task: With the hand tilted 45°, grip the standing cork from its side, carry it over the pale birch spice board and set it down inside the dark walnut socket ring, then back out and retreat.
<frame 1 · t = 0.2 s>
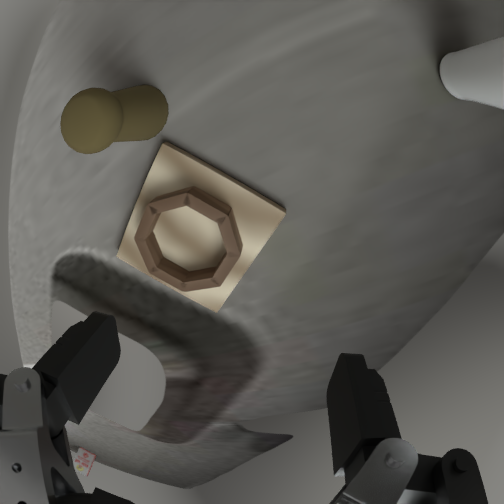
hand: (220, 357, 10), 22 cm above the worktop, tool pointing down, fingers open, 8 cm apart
tea bag: (87, 451, 78), on the worktop
spice board: (193, 232, 32), on the worktop
drinking glass: (456, 76, 21), on the worktop
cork: (142, 112, 27), on the worktop
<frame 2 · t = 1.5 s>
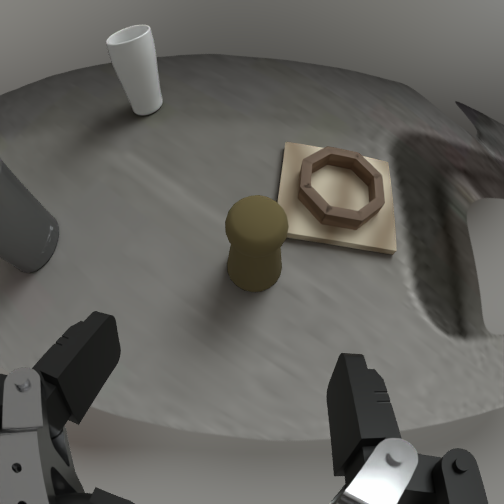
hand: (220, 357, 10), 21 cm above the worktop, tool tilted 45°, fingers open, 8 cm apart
spice board: (337, 196, 37), on the worktop
drinking glass: (148, 107, 44), on the worktop
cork: (254, 266, 33), on the worktop
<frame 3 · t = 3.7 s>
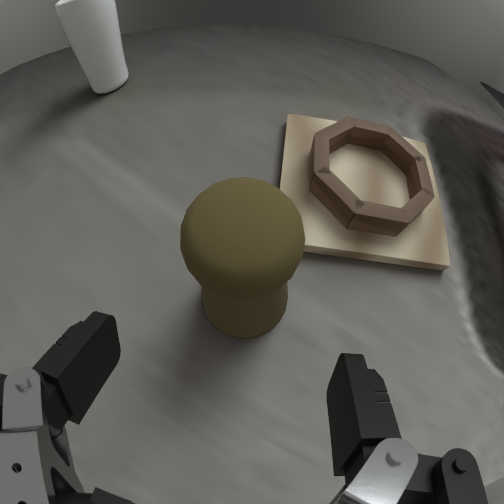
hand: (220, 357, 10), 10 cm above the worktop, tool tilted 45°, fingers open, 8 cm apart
spice board: (363, 187, 25), on the worktop
drinking glass: (111, 84, 32), on the worktop
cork: (244, 296, 21), on the worktop
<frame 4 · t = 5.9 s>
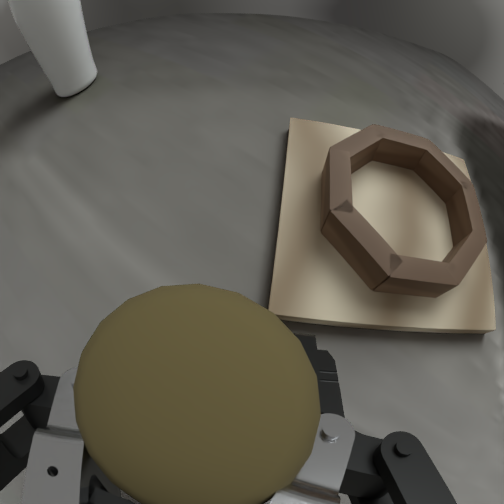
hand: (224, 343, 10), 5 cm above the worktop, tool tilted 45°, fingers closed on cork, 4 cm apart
spice board: (393, 223, 18), on the worktop
drinking glass: (78, 85, 25), on the worktop
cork: (227, 388, 14), on the worktop, touching gripper
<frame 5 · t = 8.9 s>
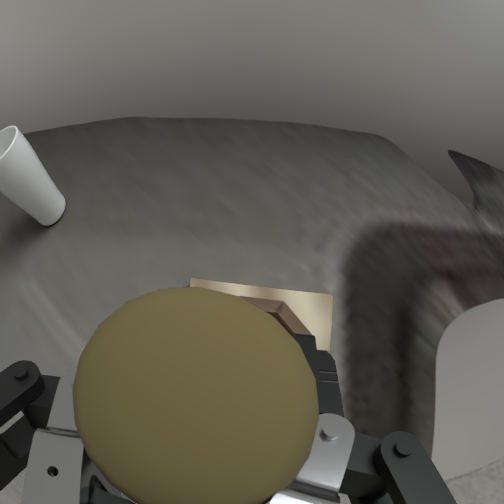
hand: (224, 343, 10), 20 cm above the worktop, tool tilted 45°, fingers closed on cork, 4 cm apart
spice board: (253, 355, 29), on the worktop
drinking glass: (53, 211, 36), on the worktop
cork: (227, 389, 14), point 15 cm above the worktop, touching gripper
when the fingers open (8 cm above the worktop, at t = 12.4 s): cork drops 2 cm, resting on spice board.
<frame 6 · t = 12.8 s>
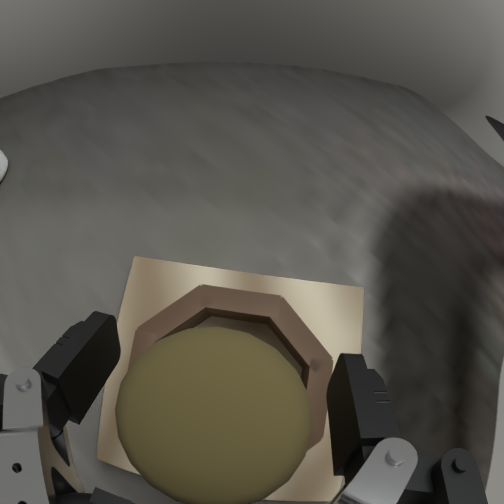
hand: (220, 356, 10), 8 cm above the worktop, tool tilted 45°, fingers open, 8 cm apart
spice board: (229, 386, 17), on the worktop
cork: (232, 395, 16), point 1 cm above the worktop, touching spice board
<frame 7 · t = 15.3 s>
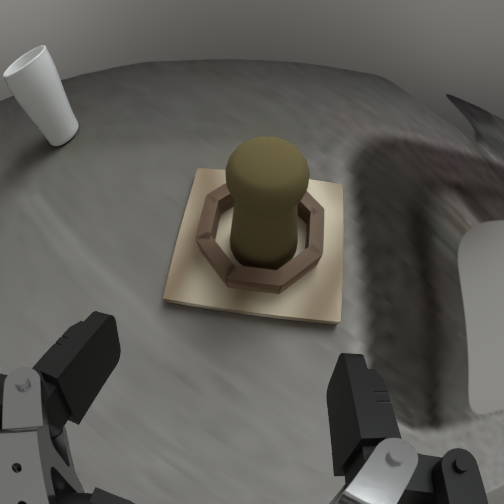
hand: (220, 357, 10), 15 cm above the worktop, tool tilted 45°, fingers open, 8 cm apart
spice board: (261, 241, 28), on the worktop
drinking glass: (65, 135, 36), on the worktop
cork: (263, 241, 27), point 1 cm above the worktop, touching spice board
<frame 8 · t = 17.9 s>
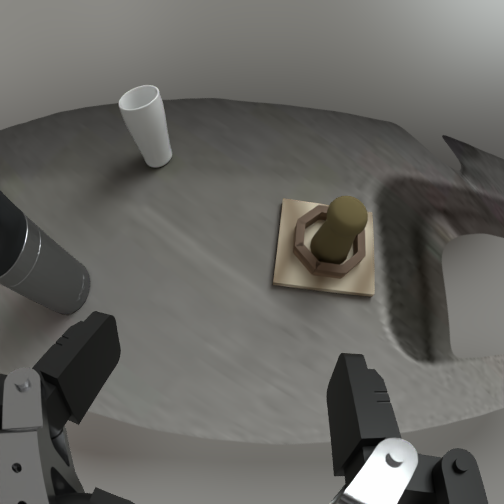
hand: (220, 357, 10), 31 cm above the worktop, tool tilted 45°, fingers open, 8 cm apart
spice board: (326, 247, 45), on the worktop
drinking glass: (159, 158, 52), on the worktop
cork: (329, 248, 44), point 1 cm above the worktop, touching spice board
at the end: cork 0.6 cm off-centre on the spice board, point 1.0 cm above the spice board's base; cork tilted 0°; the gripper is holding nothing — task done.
